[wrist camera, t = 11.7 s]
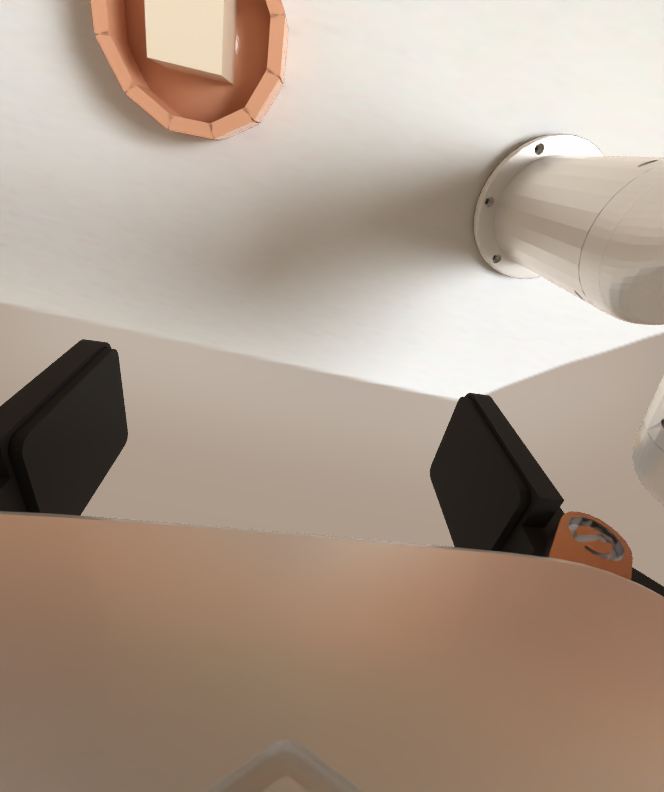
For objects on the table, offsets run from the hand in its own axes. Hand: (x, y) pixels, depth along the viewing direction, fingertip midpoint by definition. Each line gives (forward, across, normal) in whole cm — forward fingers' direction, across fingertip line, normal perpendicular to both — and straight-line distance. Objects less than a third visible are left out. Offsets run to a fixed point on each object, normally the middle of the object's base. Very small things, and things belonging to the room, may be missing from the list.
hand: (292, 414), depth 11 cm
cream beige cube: (+32, +10, -12) cm, 35 cm away
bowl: (+32, +10, -12) cm, 36 cm away
